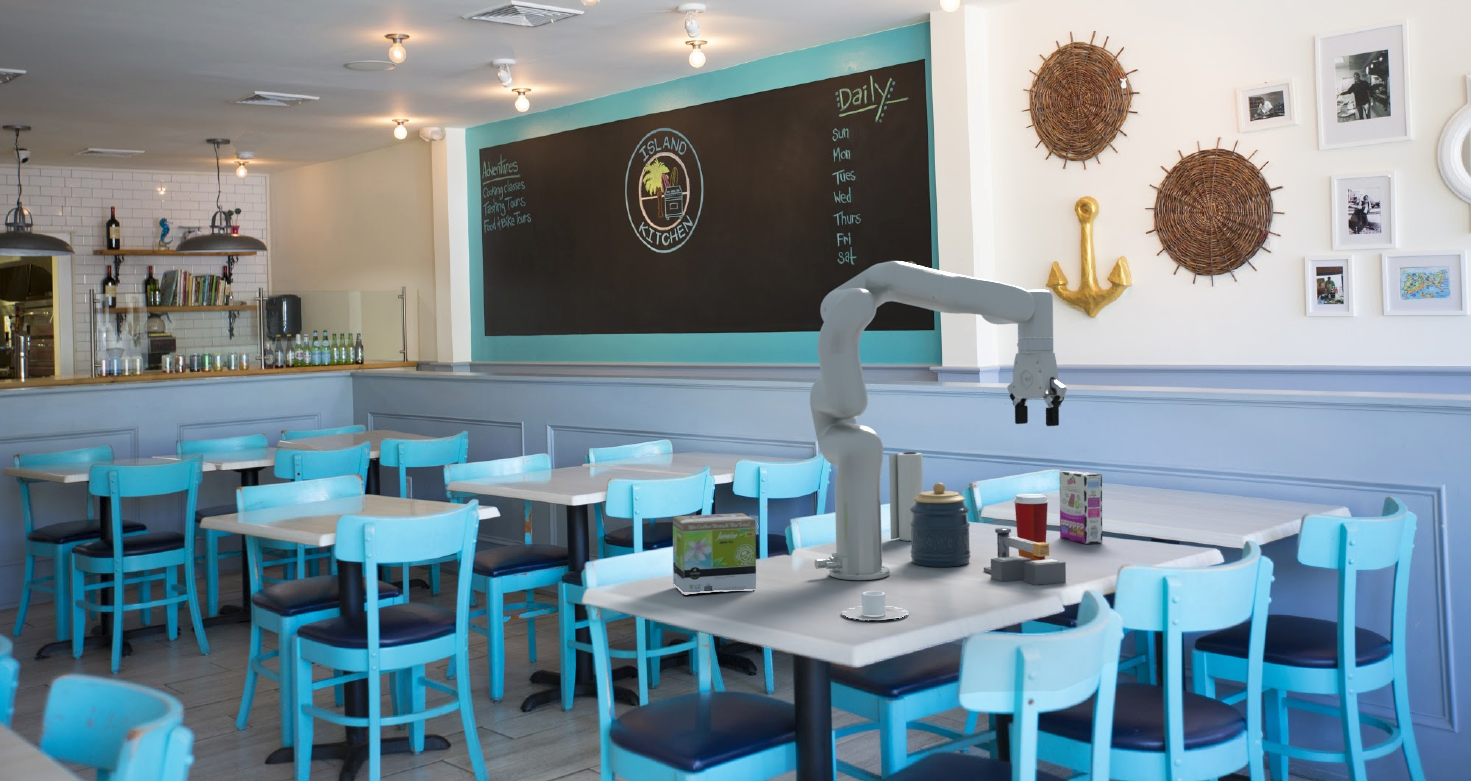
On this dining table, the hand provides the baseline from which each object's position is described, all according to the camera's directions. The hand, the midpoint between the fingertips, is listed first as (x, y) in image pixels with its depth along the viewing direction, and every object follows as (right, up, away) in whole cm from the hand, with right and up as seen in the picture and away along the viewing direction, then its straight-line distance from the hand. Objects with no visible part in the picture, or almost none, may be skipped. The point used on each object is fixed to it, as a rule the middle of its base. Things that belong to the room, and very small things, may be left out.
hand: (1036, 424), depth 262 cm
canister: (-21, -31, +1) cm, 37 cm away
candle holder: (-41, -33, -47) cm, 71 cm away
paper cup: (0, -30, +3) cm, 30 cm away
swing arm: (-7, -25, -20) cm, 33 cm away
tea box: (-70, -33, -22) cm, 80 cm away
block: (-10, -31, -18) cm, 37 cm away
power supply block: (-4, -31, -23) cm, 39 cm away
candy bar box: (+17, -29, +24) cm, 41 cm away
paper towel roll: (-23, -29, +32) cm, 49 cm away
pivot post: (-10, -31, -12) cm, 34 cm away
